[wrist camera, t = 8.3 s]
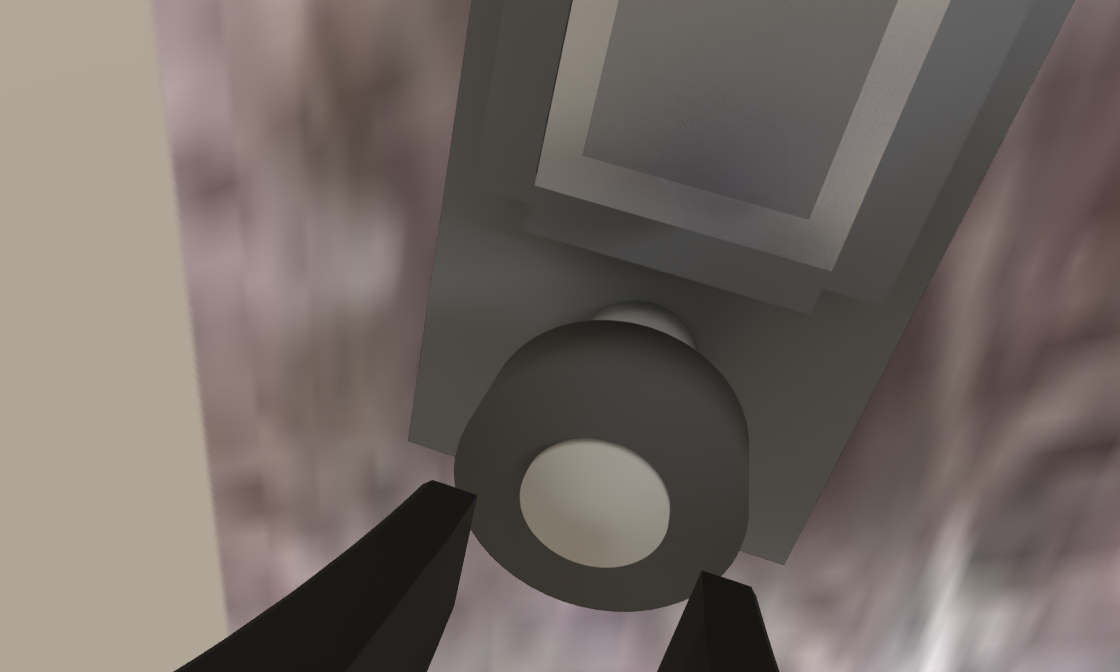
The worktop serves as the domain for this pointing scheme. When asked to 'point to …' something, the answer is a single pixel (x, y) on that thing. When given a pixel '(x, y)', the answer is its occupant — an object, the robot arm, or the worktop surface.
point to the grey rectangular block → (734, 112)
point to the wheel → (608, 467)
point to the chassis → (709, 250)
